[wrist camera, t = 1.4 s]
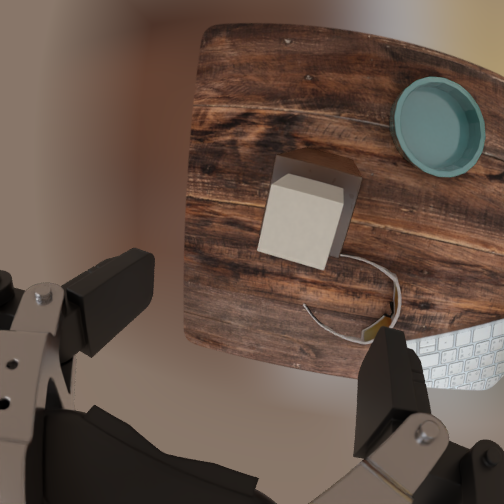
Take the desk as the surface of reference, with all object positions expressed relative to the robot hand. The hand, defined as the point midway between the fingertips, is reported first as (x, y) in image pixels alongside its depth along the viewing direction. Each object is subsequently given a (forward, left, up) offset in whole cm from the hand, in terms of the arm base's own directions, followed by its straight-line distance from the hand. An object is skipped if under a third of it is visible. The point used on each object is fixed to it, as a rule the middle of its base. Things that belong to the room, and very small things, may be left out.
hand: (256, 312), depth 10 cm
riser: (0, 0, -38) cm, 38 cm away
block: (0, 0, -16) cm, 16 cm away
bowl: (-12, +14, -38) cm, 42 cm away
